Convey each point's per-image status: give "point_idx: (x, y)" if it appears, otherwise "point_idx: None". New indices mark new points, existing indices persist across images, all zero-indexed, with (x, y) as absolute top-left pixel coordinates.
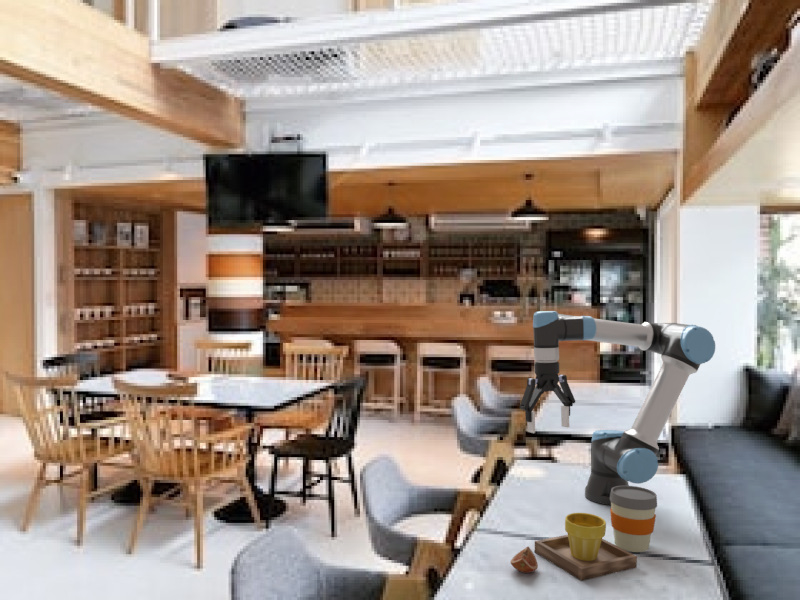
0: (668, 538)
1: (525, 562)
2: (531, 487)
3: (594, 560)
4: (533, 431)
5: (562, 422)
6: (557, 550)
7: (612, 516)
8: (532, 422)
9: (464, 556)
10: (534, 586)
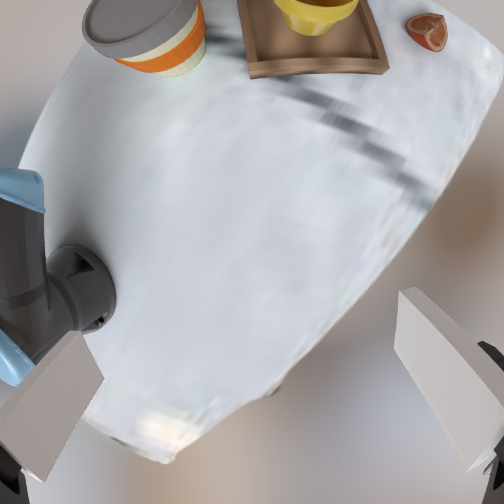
0: (95, 77)
1: (436, 14)
2: (197, 382)
3: None
4: (419, 293)
5: (89, 388)
6: (346, 49)
7: (201, 25)
8: (461, 337)
9: (481, 119)
10: (420, 5)
